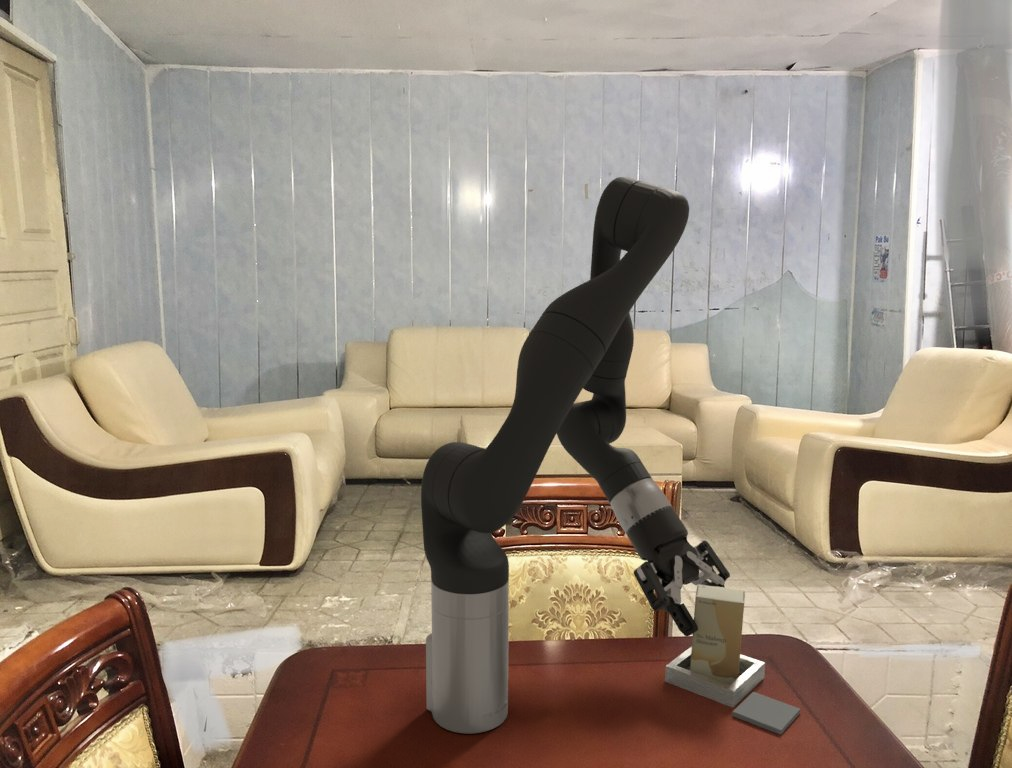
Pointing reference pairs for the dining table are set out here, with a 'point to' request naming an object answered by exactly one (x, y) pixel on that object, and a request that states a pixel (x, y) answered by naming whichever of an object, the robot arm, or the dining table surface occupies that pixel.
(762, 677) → the grey square frame
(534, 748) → the dining table surface
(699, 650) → the skincare box
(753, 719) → the pad
